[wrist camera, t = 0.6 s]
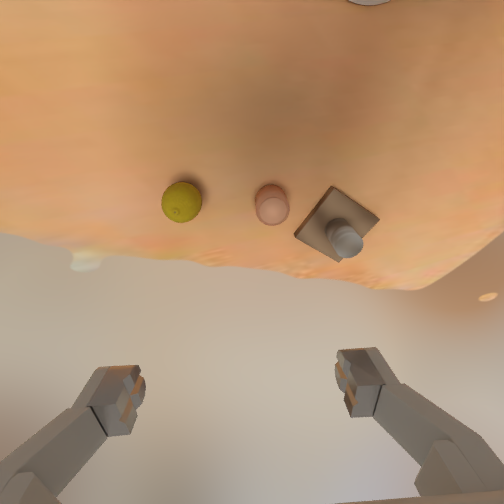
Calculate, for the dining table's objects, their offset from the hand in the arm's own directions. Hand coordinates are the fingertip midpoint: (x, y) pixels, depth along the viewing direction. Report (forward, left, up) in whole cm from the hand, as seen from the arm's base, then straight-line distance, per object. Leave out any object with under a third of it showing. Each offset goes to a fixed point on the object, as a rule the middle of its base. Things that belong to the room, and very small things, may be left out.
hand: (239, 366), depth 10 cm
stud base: (-1, +17, -32) cm, 36 cm away
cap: (+1, +5, -32) cm, 32 cm away
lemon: (+7, -7, -32) cm, 34 cm away
